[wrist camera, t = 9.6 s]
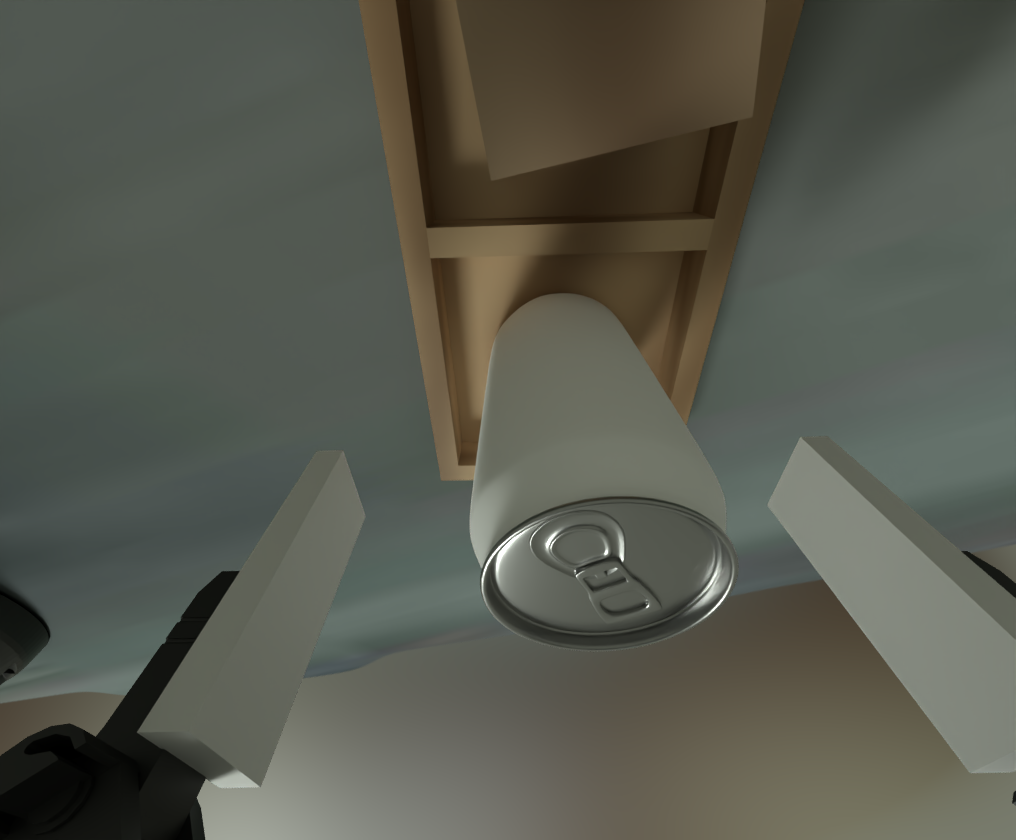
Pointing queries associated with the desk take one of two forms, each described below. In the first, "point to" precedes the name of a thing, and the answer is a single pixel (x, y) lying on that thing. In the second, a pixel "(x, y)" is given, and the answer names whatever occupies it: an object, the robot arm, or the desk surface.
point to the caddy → (552, 219)
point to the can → (591, 489)
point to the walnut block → (605, 73)
